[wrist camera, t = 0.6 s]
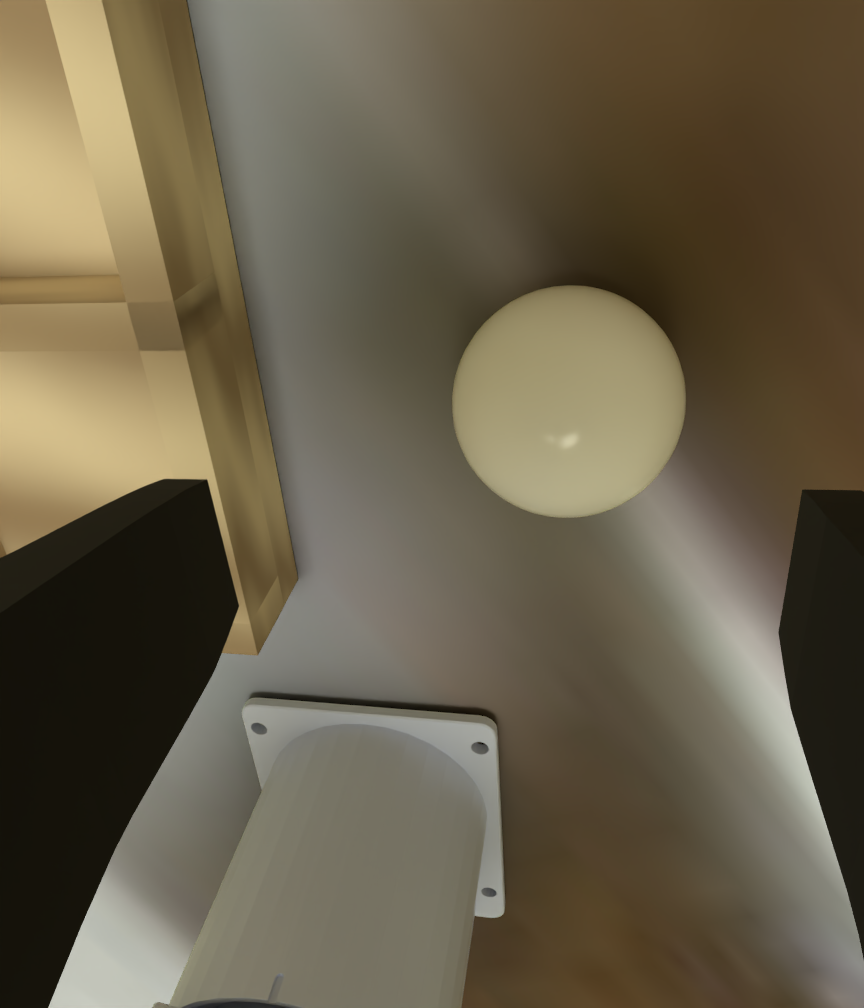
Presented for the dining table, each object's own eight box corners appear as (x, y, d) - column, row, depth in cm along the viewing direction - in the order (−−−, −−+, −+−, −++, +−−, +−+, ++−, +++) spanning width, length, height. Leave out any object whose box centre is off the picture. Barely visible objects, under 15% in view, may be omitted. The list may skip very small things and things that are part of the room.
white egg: (669, 453, 19) (684, 568, 15) (474, 449, 20) (442, 558, 16) (686, 254, 17) (708, 331, 13) (464, 260, 18) (424, 334, 14)
